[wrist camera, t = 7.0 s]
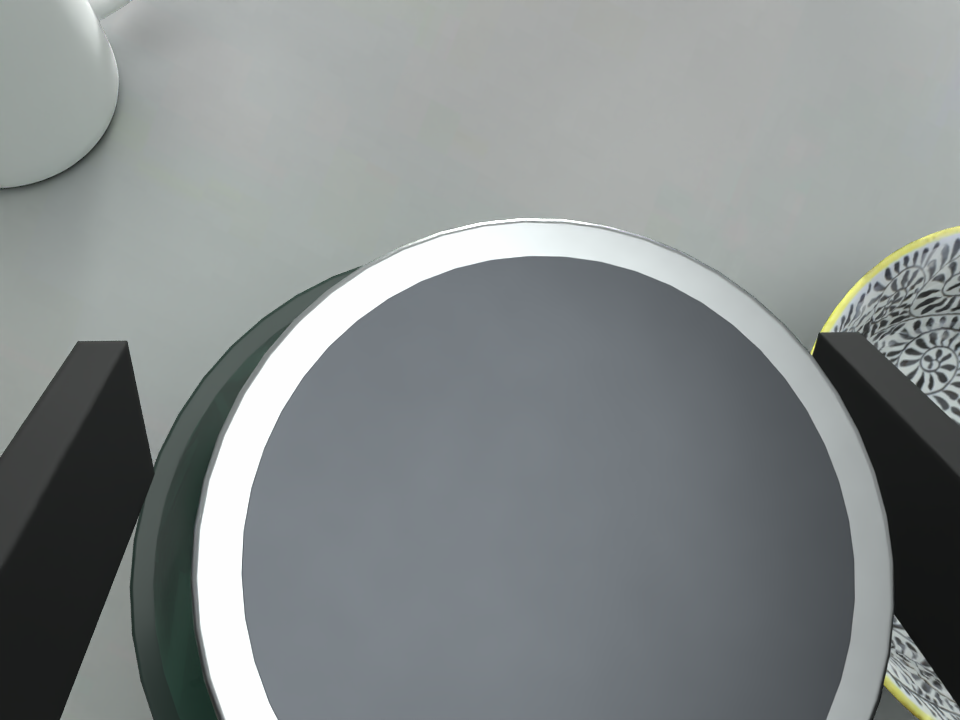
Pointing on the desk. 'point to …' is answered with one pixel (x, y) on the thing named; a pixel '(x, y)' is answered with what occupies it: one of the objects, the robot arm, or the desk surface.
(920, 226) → the desk surface
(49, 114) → the cup
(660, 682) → the silver cup
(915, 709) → the bowl
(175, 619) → the bucket
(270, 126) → the desk surface
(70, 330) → the desk surface
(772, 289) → the desk surface
